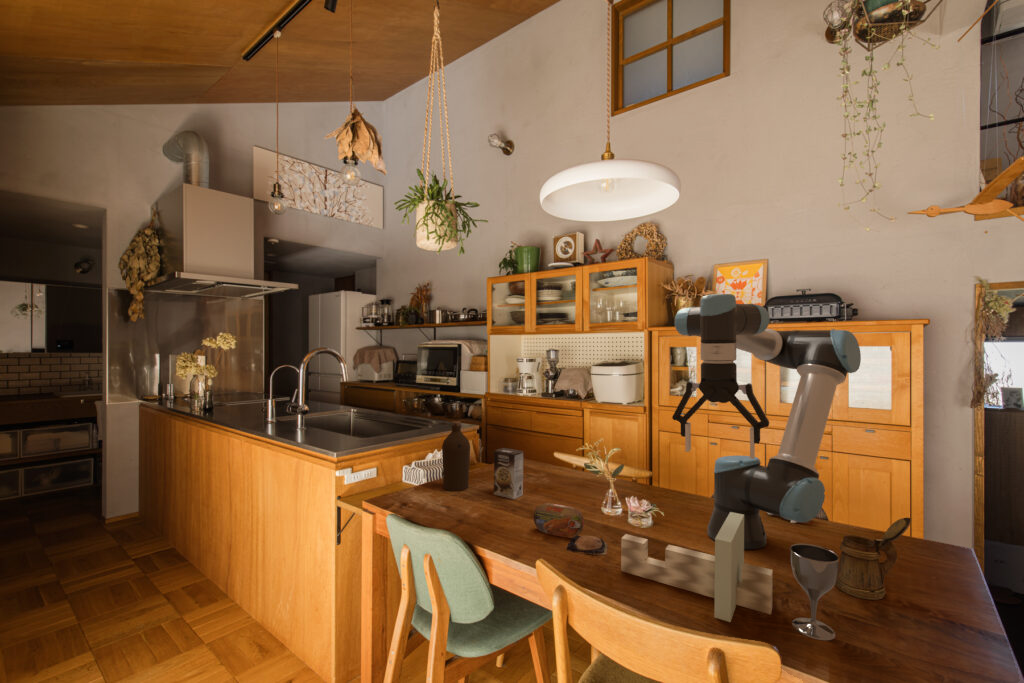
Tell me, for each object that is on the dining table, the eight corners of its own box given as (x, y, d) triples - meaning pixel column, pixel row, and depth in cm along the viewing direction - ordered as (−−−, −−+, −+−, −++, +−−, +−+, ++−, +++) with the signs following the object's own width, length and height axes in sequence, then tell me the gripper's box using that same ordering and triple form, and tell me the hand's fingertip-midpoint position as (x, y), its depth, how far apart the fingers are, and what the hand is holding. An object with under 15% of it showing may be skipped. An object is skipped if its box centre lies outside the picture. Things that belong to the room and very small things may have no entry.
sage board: (730, 622, 93) (731, 542, 93) (714, 617, 95) (715, 538, 95) (743, 583, 108) (744, 514, 108) (729, 579, 110) (730, 511, 110)
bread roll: (608, 545, 129) (608, 532, 129) (606, 558, 121) (606, 544, 121) (569, 540, 132) (569, 527, 132) (565, 553, 124) (565, 539, 124)
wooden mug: (916, 611, 98) (916, 525, 97) (837, 593, 104) (838, 512, 104) (905, 591, 105) (906, 511, 105) (833, 575, 112) (833, 500, 112)
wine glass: (794, 636, 89) (794, 557, 89) (786, 613, 96) (786, 540, 96) (843, 646, 86) (844, 564, 86) (831, 621, 94) (832, 547, 93)
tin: (532, 530, 137) (533, 502, 137) (537, 527, 140) (537, 499, 140) (581, 541, 130) (581, 511, 130) (585, 537, 133) (585, 507, 133)
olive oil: (475, 486, 178) (476, 421, 178) (455, 493, 170) (456, 425, 170) (456, 481, 185) (456, 418, 185) (435, 487, 176) (436, 421, 176)
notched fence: (621, 571, 114) (621, 538, 114) (625, 566, 116) (625, 533, 116) (770, 614, 96) (771, 575, 96) (772, 607, 98) (772, 569, 98)
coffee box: (492, 494, 169) (493, 450, 169) (503, 490, 174) (503, 447, 174) (513, 499, 164) (513, 453, 164) (523, 494, 169) (524, 450, 169)
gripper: (658, 362, 110) (660, 451, 111) (780, 363, 97) (781, 464, 98) (666, 360, 117) (667, 444, 117) (781, 361, 104) (782, 456, 104)
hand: (719, 454), depth 107 cm, fingers open, 13 cm apart
